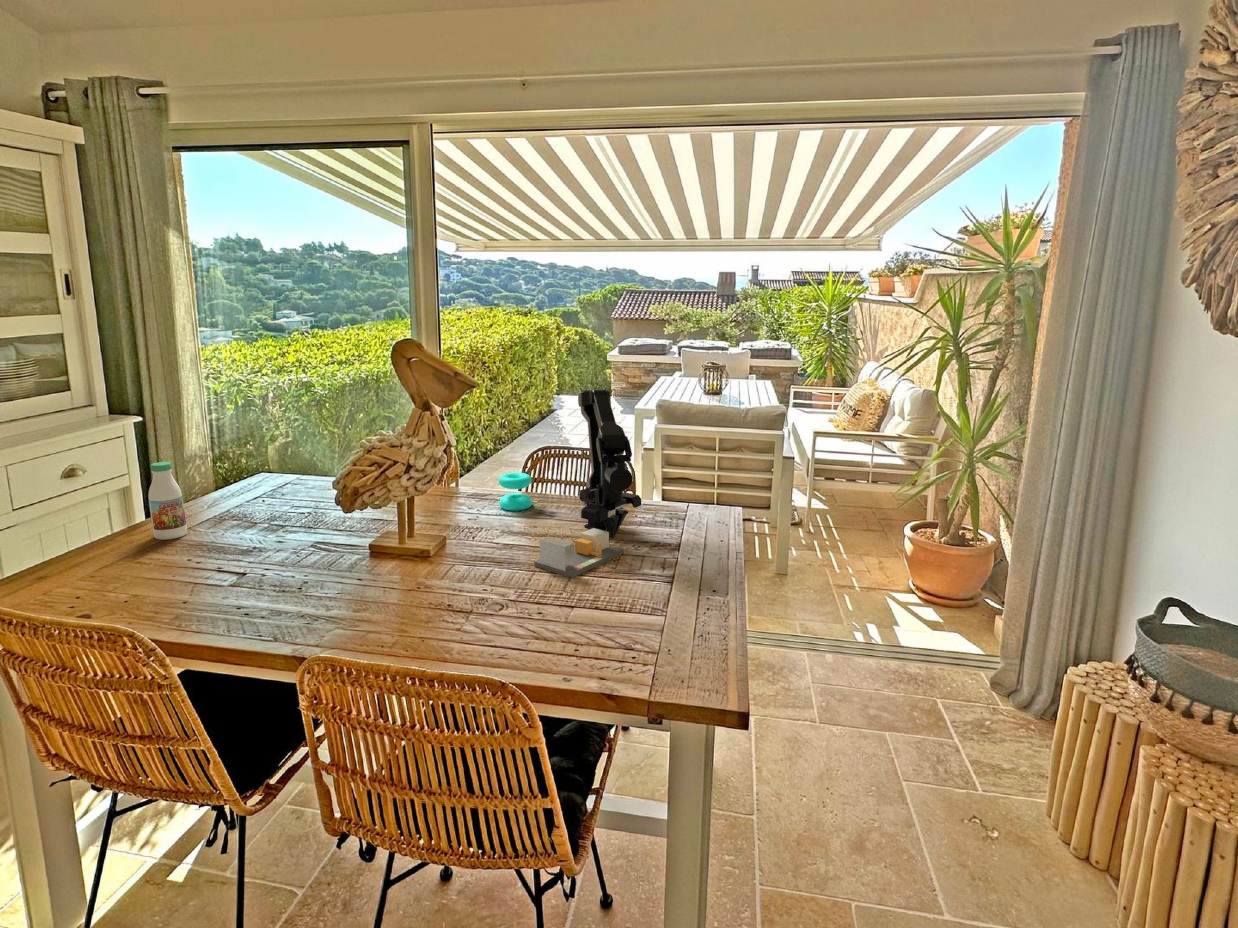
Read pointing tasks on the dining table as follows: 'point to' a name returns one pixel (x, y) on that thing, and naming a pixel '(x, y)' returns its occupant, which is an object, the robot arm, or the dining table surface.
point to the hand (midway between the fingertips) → (611, 538)
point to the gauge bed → (583, 559)
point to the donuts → (515, 500)
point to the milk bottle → (166, 504)
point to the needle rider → (587, 547)
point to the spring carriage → (596, 538)
